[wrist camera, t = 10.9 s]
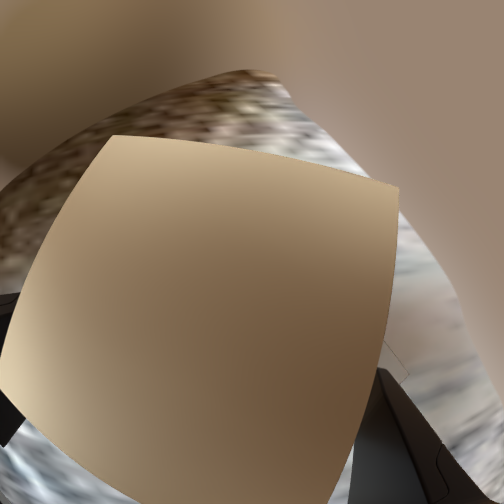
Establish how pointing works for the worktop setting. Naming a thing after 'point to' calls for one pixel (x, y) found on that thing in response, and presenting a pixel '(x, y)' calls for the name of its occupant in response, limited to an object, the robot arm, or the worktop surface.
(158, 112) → the worktop surface
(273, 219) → the birch block
